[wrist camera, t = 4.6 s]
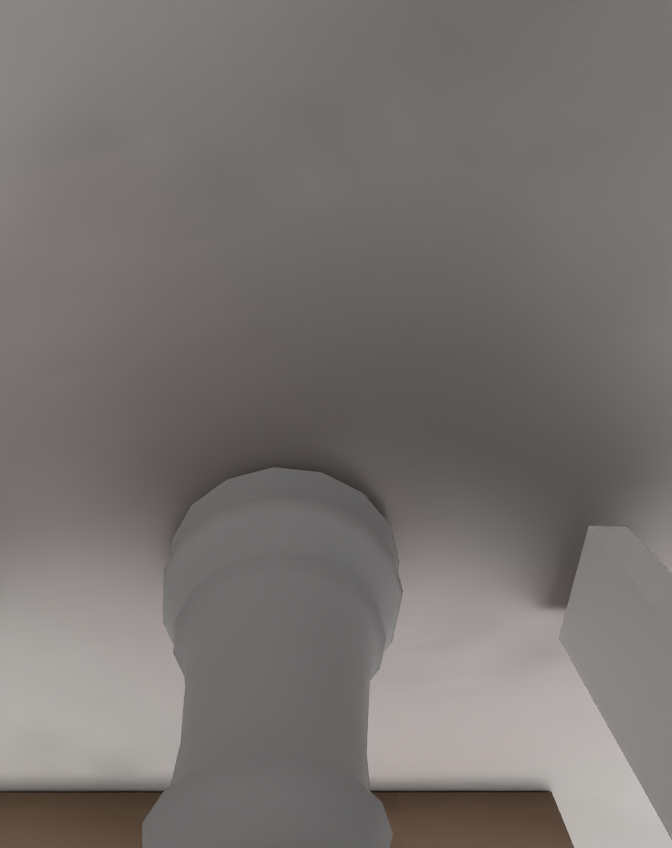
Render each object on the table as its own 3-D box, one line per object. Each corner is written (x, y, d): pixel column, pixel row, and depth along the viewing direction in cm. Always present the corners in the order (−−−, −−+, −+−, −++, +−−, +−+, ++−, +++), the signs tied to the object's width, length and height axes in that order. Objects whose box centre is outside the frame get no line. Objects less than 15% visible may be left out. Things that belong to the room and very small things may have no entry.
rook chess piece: (243, 669, 13) (150, 1347, 5) (129, 513, 11) (-239, 1173, 4) (429, 592, 12) (620, 1232, 5) (337, 417, 10) (409, 965, 3)
